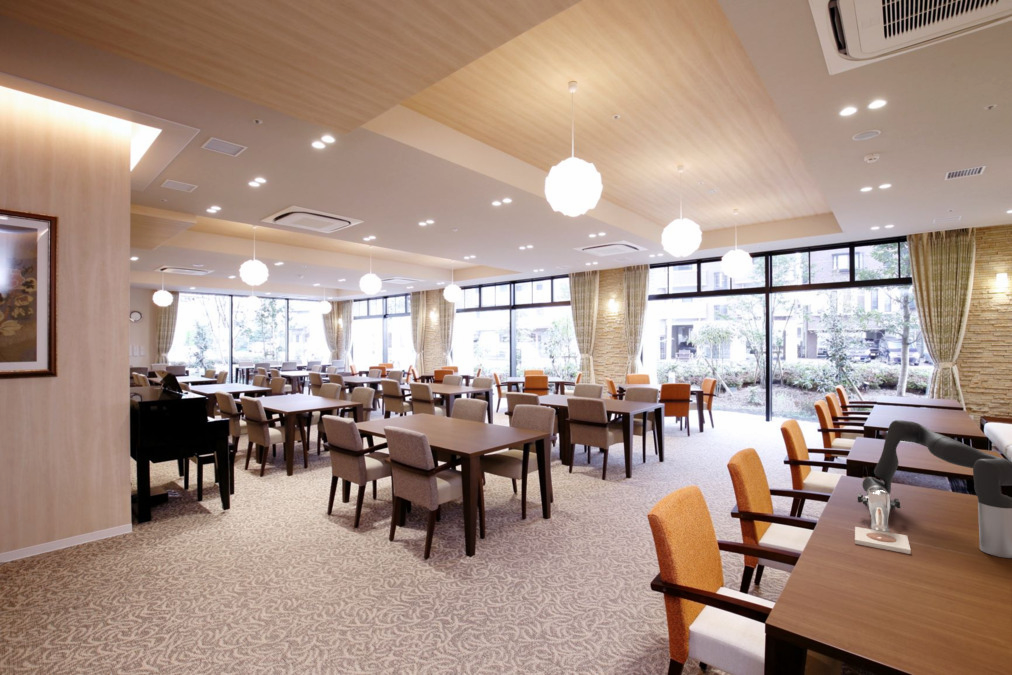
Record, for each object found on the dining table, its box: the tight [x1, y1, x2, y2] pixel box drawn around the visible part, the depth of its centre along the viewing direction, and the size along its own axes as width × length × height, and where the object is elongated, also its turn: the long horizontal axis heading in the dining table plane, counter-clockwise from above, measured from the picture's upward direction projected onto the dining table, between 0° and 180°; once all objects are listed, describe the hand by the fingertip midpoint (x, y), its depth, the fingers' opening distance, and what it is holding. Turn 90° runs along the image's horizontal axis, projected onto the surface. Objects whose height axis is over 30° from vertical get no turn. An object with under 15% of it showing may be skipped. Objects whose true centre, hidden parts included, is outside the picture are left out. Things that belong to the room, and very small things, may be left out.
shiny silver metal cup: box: [867, 490, 891, 533], centre depth 192 cm, size 7×7×15 cm
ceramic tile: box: [854, 526, 912, 555], centre depth 179 cm, size 16×16×2 cm
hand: (878, 505), depth 197 cm, fingers open, 8 cm apart
